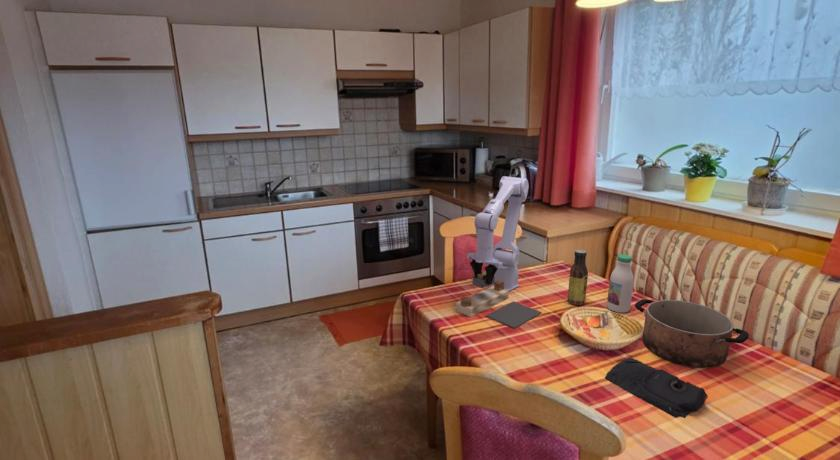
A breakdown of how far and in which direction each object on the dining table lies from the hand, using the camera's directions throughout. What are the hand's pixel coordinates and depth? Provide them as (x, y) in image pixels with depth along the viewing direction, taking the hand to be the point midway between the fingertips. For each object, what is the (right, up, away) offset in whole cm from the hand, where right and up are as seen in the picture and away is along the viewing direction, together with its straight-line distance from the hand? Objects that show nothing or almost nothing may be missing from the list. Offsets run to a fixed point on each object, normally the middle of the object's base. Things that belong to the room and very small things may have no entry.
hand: (483, 281), depth 164 cm
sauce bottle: (+35, -8, +4) cm, 36 cm away
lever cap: (0, -1, 0) cm, 1 cm away
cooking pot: (+56, -17, -27) cm, 65 cm away
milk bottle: (+48, -10, -1) cm, 49 cm away
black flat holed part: (+38, -23, -45) cm, 64 cm away
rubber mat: (+10, -11, -6) cm, 16 cm away
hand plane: (0, -9, +2) cm, 9 cm away
